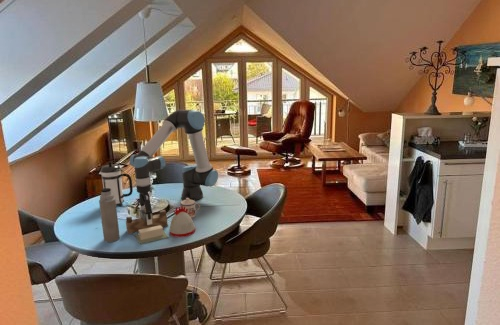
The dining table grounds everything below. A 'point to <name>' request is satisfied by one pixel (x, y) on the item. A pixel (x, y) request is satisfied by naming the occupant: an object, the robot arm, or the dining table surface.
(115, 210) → the thermos bottle
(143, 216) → the lever cap
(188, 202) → the teacup with lid
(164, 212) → the hand plane
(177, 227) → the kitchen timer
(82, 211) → the dining table surface
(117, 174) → the coffee press
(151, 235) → the butter dish
